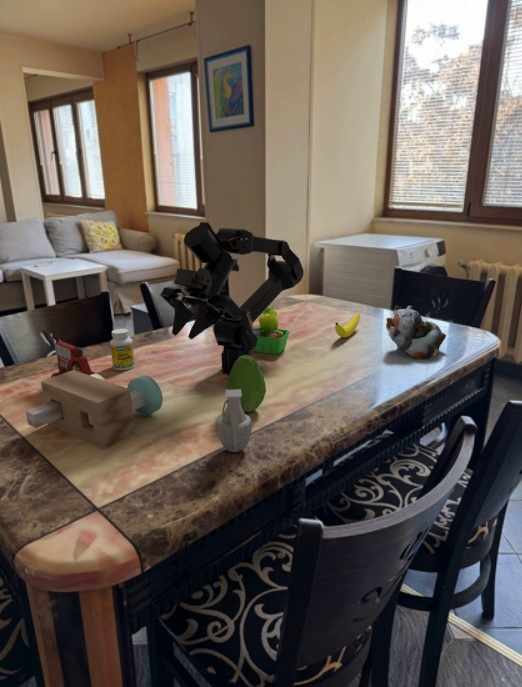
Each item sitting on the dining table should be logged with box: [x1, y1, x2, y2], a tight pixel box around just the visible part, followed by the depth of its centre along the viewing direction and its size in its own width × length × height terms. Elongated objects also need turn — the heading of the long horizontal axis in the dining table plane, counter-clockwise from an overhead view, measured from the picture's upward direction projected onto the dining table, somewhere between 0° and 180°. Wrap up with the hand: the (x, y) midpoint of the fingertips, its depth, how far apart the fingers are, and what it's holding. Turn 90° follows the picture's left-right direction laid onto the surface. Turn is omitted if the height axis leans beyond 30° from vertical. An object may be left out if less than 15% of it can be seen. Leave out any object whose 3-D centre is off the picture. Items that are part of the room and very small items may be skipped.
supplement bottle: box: [109, 328, 136, 371], centre depth 124 cm, size 5×5×10 cm
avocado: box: [225, 355, 267, 413], centre depth 99 cm, size 8×8×12 cm
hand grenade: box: [216, 389, 253, 453], centre depth 84 cm, size 6×6×11 cm
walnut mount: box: [25, 370, 136, 451], centre depth 92 cm, size 15×17×9 cm
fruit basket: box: [251, 306, 290, 355], centre depth 135 cm, size 11×9×11 cm
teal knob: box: [88, 374, 164, 425], centre depth 94 cm, size 13×8×8 cm, turn 144°
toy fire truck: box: [50, 341, 97, 378], centre depth 111 cm, size 7×12×10 cm, turn 49°
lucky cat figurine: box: [385, 304, 447, 360], centre depth 132 cm, size 15×12×14 cm
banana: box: [334, 312, 361, 339], centre depth 147 cm, size 3×19×6 cm, turn 150°
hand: (181, 336), depth 104 cm, fingers open, 4 cm apart
